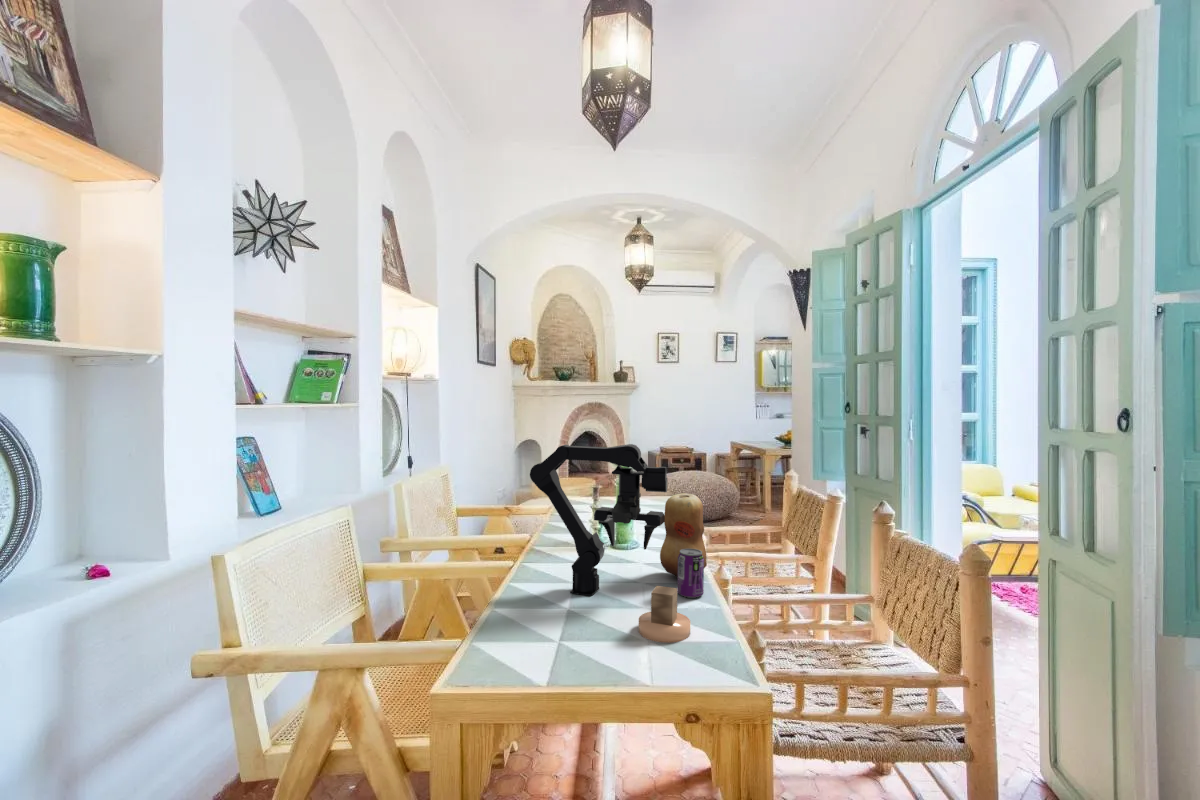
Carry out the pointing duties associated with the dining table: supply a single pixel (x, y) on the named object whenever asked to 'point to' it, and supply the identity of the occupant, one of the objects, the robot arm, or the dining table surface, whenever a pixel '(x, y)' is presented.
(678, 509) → the butternut squash
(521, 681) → the dining table surface
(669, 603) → the walnut block
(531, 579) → the dining table surface
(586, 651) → the dining table surface
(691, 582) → the beverage can
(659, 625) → the terracotta disc
